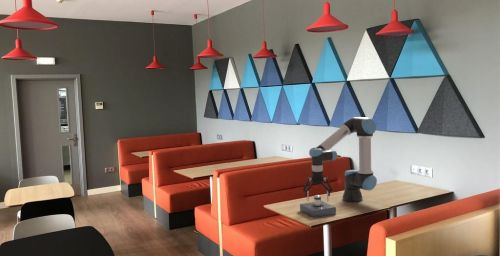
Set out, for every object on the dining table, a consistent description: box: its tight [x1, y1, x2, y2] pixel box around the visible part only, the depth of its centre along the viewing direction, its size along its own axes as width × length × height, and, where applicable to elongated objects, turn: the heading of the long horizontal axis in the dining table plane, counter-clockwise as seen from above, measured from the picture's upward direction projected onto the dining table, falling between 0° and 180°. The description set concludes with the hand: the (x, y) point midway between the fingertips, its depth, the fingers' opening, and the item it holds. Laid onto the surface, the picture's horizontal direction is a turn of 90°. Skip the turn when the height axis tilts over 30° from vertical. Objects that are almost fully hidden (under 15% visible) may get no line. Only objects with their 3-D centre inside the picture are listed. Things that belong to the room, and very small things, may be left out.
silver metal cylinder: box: [313, 194, 322, 207], centre depth 285 cm, size 5×5×12 cm
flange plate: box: [299, 200, 337, 219], centre depth 285 cm, size 18×18×5 cm
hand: (317, 200), depth 285 cm, fingers open, 13 cm apart
